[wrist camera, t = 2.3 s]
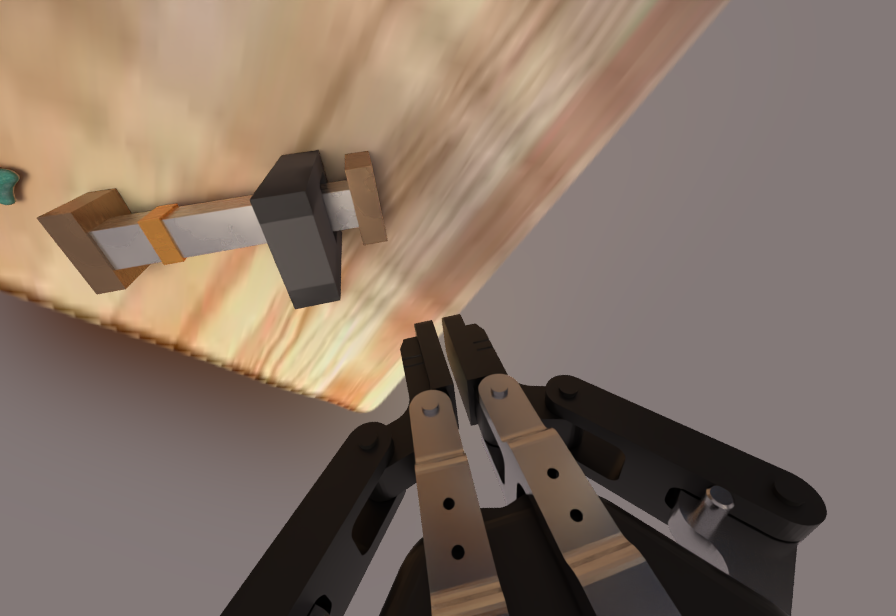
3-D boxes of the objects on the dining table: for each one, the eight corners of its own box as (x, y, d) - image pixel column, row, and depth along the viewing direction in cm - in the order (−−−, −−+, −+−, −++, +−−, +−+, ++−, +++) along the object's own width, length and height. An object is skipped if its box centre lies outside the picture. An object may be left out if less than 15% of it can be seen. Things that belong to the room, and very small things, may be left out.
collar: (318, 150, 30) (305, 191, 20) (341, 233, 34) (340, 300, 24) (281, 155, 29) (249, 200, 20) (309, 239, 34) (294, 309, 24)
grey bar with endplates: (368, 150, 31) (372, 166, 26) (382, 217, 35) (387, 240, 30) (87, 192, 28) (36, 217, 23) (133, 260, 32) (96, 294, 27)
